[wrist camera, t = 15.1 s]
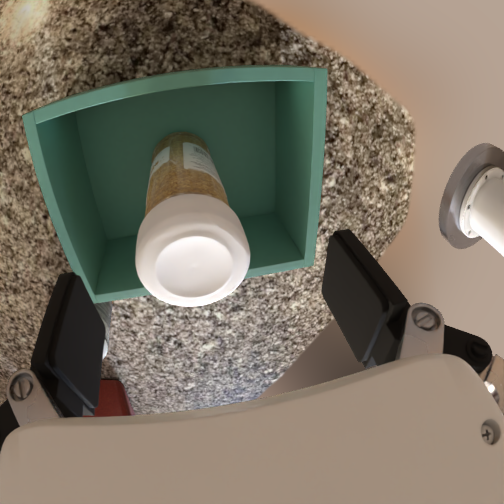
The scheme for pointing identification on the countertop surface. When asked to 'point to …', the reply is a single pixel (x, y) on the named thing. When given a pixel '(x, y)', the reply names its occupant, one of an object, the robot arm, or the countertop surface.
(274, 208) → the bin
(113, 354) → the countertop surface
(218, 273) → the sprinkles bottle
